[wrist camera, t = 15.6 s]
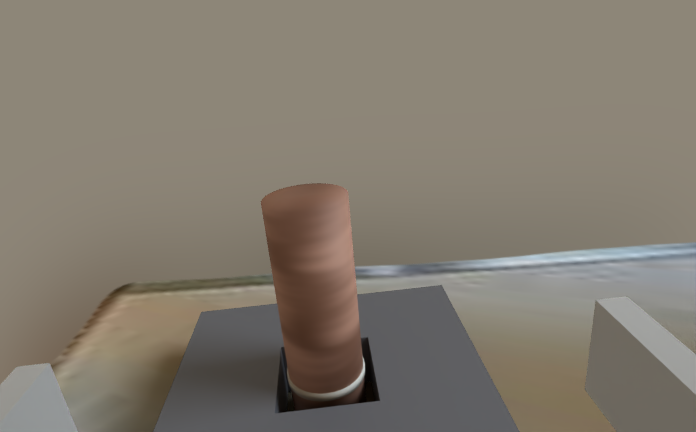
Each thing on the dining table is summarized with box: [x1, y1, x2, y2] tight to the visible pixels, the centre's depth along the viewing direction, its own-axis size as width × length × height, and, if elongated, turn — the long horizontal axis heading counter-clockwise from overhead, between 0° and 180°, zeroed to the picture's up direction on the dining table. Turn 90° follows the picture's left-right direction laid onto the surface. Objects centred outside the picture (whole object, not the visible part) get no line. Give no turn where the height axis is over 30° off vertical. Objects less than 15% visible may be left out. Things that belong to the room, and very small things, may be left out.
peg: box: [261, 183, 366, 411], centre depth 28 cm, size 5×5×16 cm
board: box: [153, 285, 519, 432], centre depth 30 cm, size 20×18×4 cm
